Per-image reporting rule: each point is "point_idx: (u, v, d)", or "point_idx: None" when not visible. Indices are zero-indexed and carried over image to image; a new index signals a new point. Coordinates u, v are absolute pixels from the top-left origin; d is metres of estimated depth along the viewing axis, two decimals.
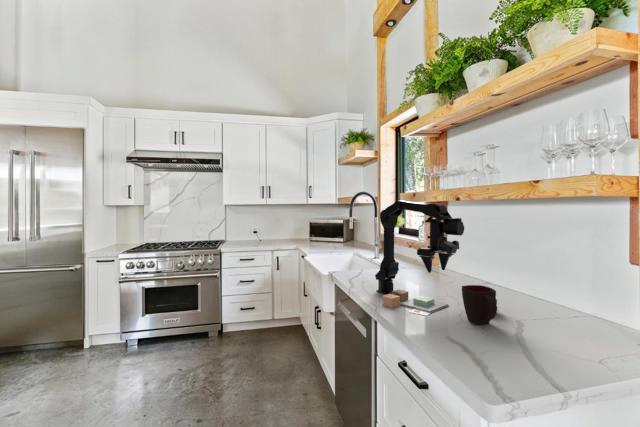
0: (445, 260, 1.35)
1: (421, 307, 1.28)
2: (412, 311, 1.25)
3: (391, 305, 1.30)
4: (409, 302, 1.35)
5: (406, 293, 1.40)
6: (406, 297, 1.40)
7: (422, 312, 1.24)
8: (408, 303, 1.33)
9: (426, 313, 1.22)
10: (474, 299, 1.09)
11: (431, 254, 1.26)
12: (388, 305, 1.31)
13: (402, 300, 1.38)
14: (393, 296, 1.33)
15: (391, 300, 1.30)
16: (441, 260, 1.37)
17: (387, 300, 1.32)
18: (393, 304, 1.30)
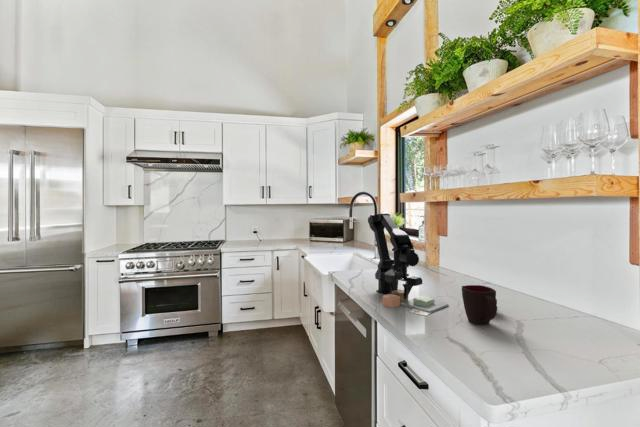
0: None
1: (421, 307, 1.28)
2: (412, 311, 1.25)
3: (391, 305, 1.30)
4: (409, 302, 1.35)
5: None
6: None
7: (422, 312, 1.24)
8: (408, 303, 1.33)
9: (426, 313, 1.22)
10: (474, 299, 1.09)
11: (381, 277, 1.45)
12: (388, 305, 1.31)
13: (402, 300, 1.38)
14: (393, 296, 1.33)
15: (391, 300, 1.30)
16: None
17: (387, 300, 1.32)
18: (393, 304, 1.30)
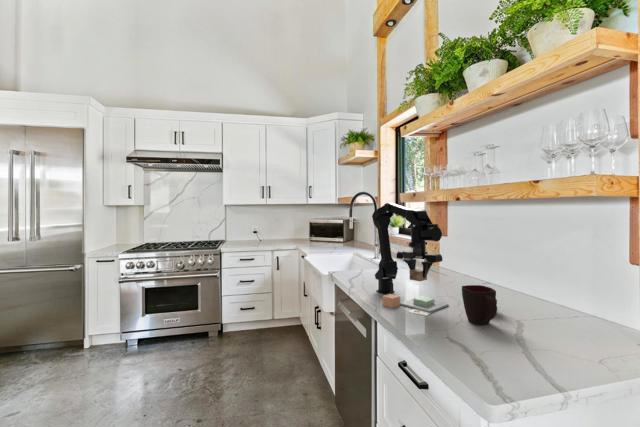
0: None
1: (421, 307, 1.28)
2: (412, 311, 1.25)
3: (391, 305, 1.30)
4: (409, 302, 1.35)
5: None
6: None
7: (422, 312, 1.24)
8: (408, 303, 1.33)
9: (426, 313, 1.22)
10: (474, 299, 1.09)
11: (398, 256, 1.38)
12: (388, 305, 1.31)
13: (421, 278, 1.31)
14: (393, 296, 1.33)
15: (391, 300, 1.30)
16: None
17: (387, 300, 1.32)
18: (393, 304, 1.30)
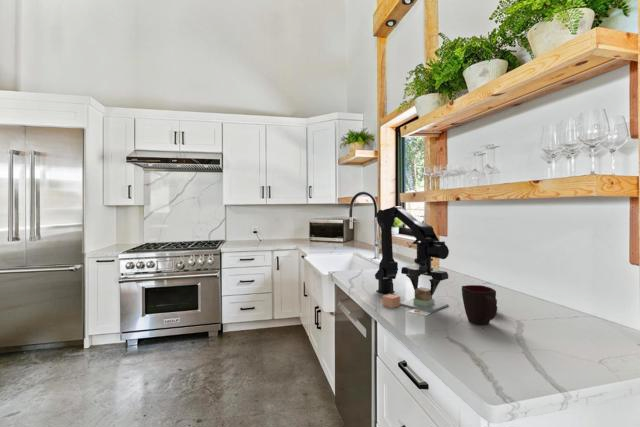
0: None
1: (421, 307, 1.28)
2: (412, 311, 1.25)
3: (391, 305, 1.30)
4: (409, 302, 1.35)
5: (430, 291, 1.31)
6: (430, 295, 1.32)
7: (422, 312, 1.24)
8: (408, 303, 1.33)
9: (426, 313, 1.22)
10: (474, 299, 1.09)
11: (403, 272, 1.37)
12: (388, 305, 1.31)
13: (426, 298, 1.30)
14: (393, 296, 1.33)
15: (391, 300, 1.30)
16: None
17: (388, 300, 1.32)
18: (393, 304, 1.30)
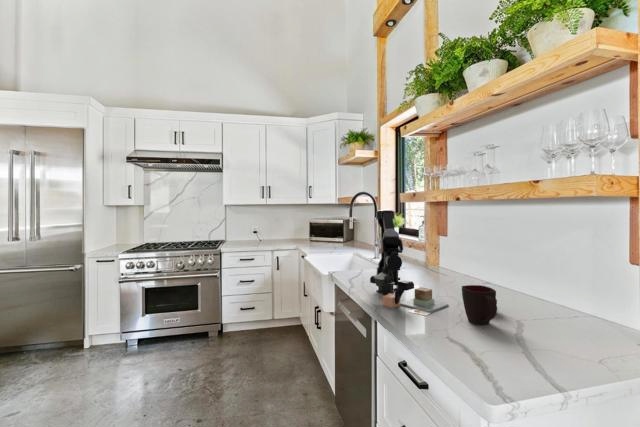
0: None
1: (421, 307, 1.28)
2: (412, 311, 1.25)
3: (391, 305, 1.30)
4: (409, 302, 1.35)
5: (430, 291, 1.31)
6: (430, 295, 1.32)
7: (422, 312, 1.24)
8: (408, 303, 1.33)
9: (426, 313, 1.22)
10: (474, 299, 1.09)
11: (372, 281, 1.37)
12: (388, 305, 1.31)
13: (426, 298, 1.30)
14: (393, 296, 1.33)
15: (391, 300, 1.30)
16: None
17: (388, 300, 1.32)
18: (393, 304, 1.30)
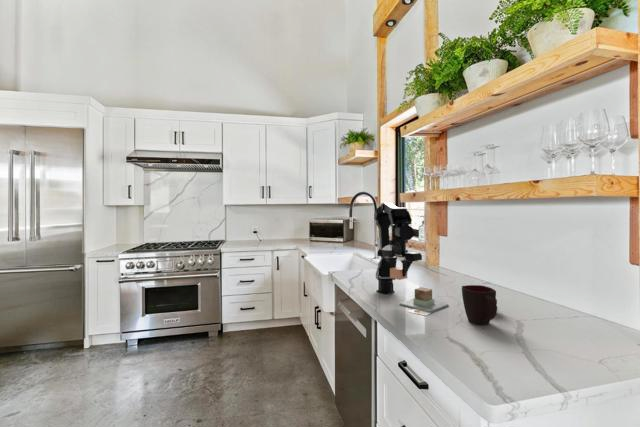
0: None
1: (421, 307, 1.28)
2: (412, 311, 1.25)
3: (398, 277, 1.30)
4: (409, 302, 1.35)
5: (430, 291, 1.31)
6: (430, 295, 1.32)
7: (422, 312, 1.24)
8: (408, 303, 1.33)
9: (426, 313, 1.22)
10: (474, 299, 1.09)
11: (379, 254, 1.37)
12: (395, 277, 1.31)
13: (426, 298, 1.30)
14: (400, 268, 1.32)
15: (399, 272, 1.30)
16: None
17: (395, 272, 1.31)
18: (400, 276, 1.30)
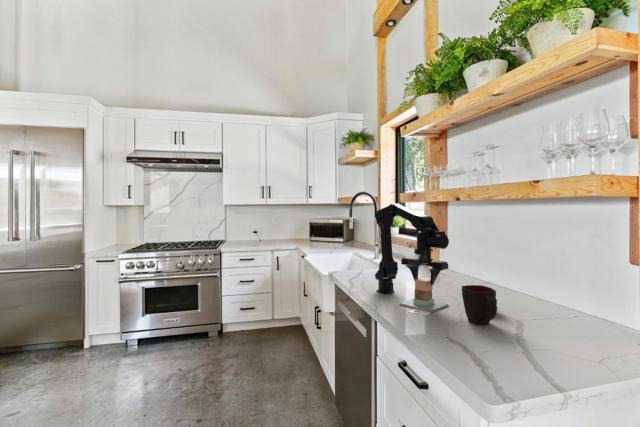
0: None
1: (421, 307, 1.28)
2: (412, 311, 1.25)
3: (424, 288, 1.30)
4: (409, 302, 1.35)
5: (430, 291, 1.31)
6: (430, 295, 1.32)
7: (422, 312, 1.24)
8: (408, 303, 1.33)
9: (426, 313, 1.22)
10: (474, 299, 1.09)
11: (403, 262, 1.37)
12: (421, 288, 1.31)
13: (426, 298, 1.30)
14: (426, 279, 1.32)
15: (425, 283, 1.29)
16: None
17: (420, 283, 1.31)
18: (426, 287, 1.30)
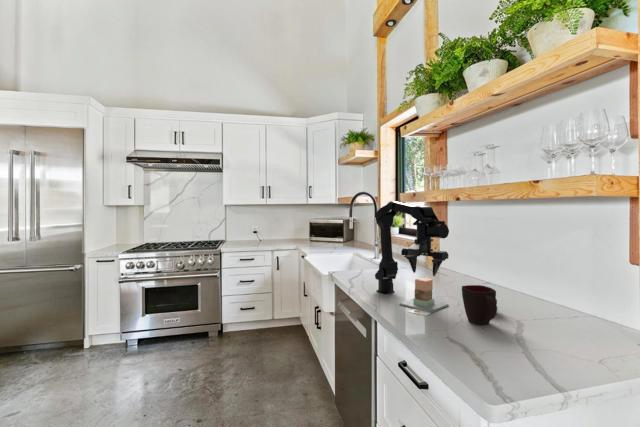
0: None
1: (421, 307, 1.28)
2: (412, 311, 1.25)
3: (424, 288, 1.30)
4: (409, 302, 1.35)
5: (430, 291, 1.31)
6: (430, 295, 1.32)
7: (422, 312, 1.24)
8: (408, 303, 1.33)
9: (426, 313, 1.22)
10: (474, 299, 1.09)
11: (403, 253, 1.37)
12: (421, 288, 1.31)
13: (426, 298, 1.30)
14: (426, 279, 1.32)
15: (425, 283, 1.29)
16: None
17: (420, 283, 1.31)
18: (426, 287, 1.30)
